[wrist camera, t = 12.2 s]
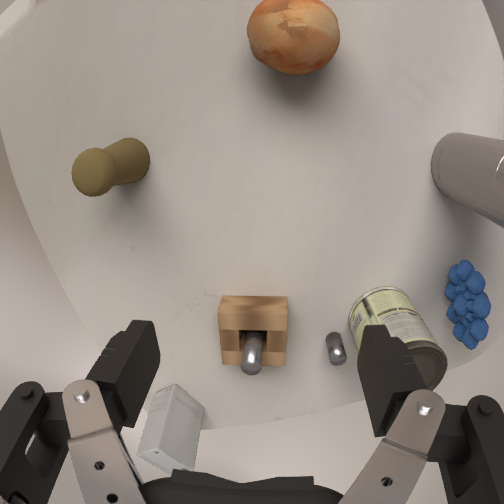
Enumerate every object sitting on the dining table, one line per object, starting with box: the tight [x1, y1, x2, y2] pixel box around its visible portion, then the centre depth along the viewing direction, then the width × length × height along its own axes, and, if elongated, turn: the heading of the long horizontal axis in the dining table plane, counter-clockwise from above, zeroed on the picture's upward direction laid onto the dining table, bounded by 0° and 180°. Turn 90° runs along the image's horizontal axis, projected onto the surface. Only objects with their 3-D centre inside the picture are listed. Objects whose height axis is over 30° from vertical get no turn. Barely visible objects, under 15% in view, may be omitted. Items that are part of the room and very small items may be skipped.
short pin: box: [326, 332, 347, 365], centre depth 45 cm, size 2×2×5 cm
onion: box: [247, 0, 340, 75], centre depth 28 cm, size 10×10×10 cm
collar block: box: [218, 296, 288, 366], centre depth 45 cm, size 9×9×4 cm
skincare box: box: [136, 384, 204, 476], centre depth 49 cm, size 8×6×15 cm
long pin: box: [241, 330, 263, 375], centre depth 43 cm, size 2×2×10 cm
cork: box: [72, 138, 150, 197], centre depth 34 cm, size 6×6×11 cm
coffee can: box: [349, 287, 447, 391], centre depth 39 cm, size 10×10×14 cm
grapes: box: [445, 260, 491, 350], centre depth 38 cm, size 12×7×12 cm, turn 7°
